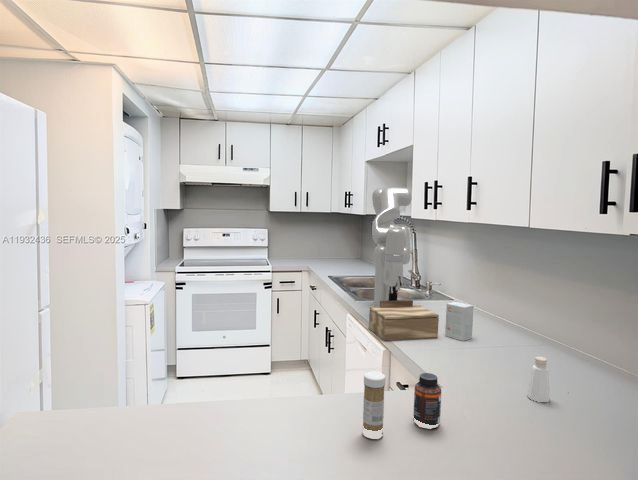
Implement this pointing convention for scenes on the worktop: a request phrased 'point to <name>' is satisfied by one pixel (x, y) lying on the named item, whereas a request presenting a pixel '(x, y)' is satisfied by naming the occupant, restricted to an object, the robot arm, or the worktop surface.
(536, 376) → the pepper shaker
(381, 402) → the sprinkles bottle
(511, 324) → the worktop surface
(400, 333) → the mailer box
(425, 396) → the supplement bottle
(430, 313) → the mailer lid
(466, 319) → the small box
